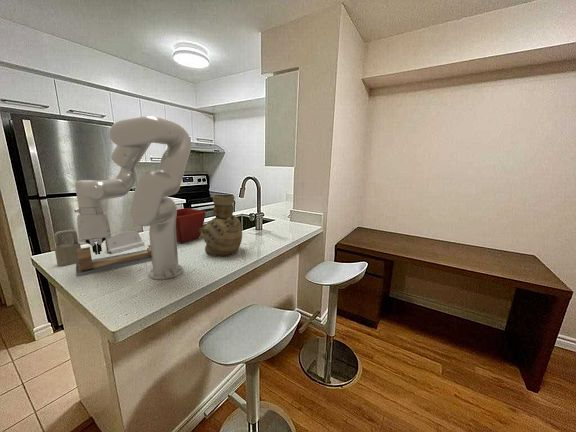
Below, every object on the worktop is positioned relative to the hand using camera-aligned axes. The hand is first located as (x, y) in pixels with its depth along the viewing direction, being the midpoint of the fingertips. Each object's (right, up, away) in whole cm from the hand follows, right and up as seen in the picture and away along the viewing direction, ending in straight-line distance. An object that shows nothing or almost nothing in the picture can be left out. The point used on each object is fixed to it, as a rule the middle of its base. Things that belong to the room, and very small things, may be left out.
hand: (97, 253), depth 100 cm
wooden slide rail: (+4, -5, +9) cm, 11 cm away
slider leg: (-5, -5, 0) cm, 7 cm away
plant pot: (+17, +2, +44) cm, 47 cm away
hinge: (-6, -2, +26) cm, 27 cm away
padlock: (-17, -5, +6) cm, 19 cm away
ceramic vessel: (+47, -3, +22) cm, 52 cm away
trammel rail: (+5, -4, +8) cm, 10 cm away
